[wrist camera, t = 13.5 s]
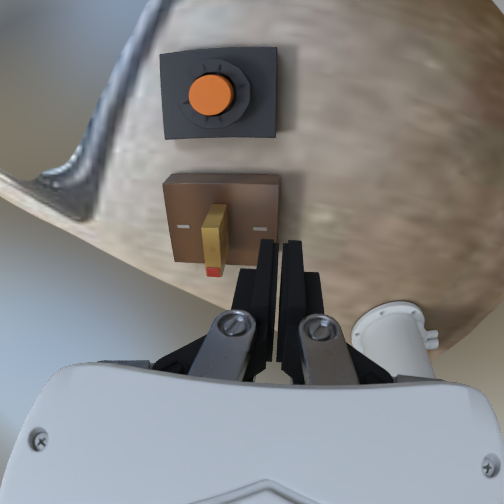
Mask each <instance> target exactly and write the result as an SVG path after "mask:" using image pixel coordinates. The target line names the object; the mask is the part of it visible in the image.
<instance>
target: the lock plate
mask: <svg viewBox="0 0 504 504" xmlns="http://www.w3.org/2000/svg"><path fill="white" fill-rule="evenodd" d="M163 192H164V199H165V206H166V213H167V219H168V225H169V232H170V238H171V244H172V249H173V255H174V260H175V262H187V263H205V259H204V250H203V240H202V230H201V228H202V225H203V223H204V221H205V219H206V216H207V214H208V212H209V210H210V208H211V205H212V204H227V209H228V232H229V252H228V256H227V260H226V265H247V266H257V262H258V255H259V248H260V241H261V239H274V243H277V231H278V209H279V175H268V174H171V175H170V176H169V177H168V178H167V179H166V181H165V182H164V183H163Z"/></svg>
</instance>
